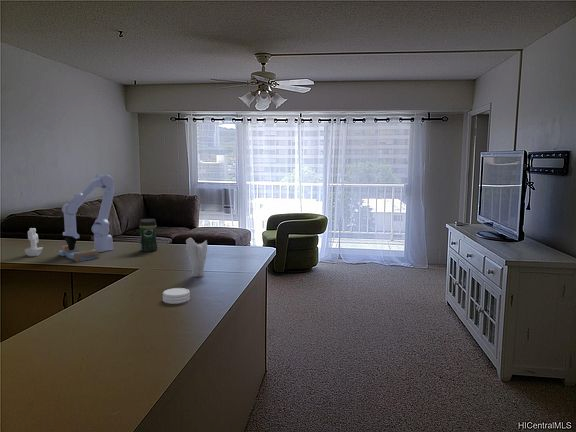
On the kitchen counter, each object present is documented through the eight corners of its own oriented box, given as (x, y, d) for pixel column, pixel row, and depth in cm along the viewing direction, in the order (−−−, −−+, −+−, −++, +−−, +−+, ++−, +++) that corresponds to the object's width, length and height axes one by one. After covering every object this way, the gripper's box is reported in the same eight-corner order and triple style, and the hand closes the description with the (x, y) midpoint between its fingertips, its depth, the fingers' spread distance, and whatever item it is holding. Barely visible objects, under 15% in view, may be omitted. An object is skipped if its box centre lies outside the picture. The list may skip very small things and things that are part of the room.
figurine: (44, 253, 245) (42, 226, 244) (38, 256, 236) (36, 229, 234) (30, 253, 244) (28, 227, 242) (23, 257, 235) (21, 229, 233)
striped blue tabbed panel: (85, 254, 244) (85, 247, 243) (99, 257, 235) (98, 250, 235) (63, 257, 234) (63, 250, 234) (77, 261, 226) (76, 254, 225)
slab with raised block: (74, 252, 248) (74, 243, 247) (79, 253, 245) (78, 244, 244) (58, 254, 241) (57, 245, 240) (62, 255, 238) (62, 246, 237)
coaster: (175, 306, 160) (175, 296, 159) (157, 301, 165) (156, 292, 165) (195, 299, 168) (195, 290, 168) (176, 294, 173) (176, 286, 173)
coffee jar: (156, 248, 262) (156, 217, 259) (157, 251, 254) (156, 219, 252) (139, 249, 258) (138, 218, 256) (140, 252, 251) (139, 220, 249)
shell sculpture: (210, 274, 203) (209, 236, 201) (201, 279, 196) (200, 239, 193) (194, 273, 206) (194, 235, 204) (185, 277, 198) (184, 238, 196)
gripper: (56, 225, 240) (57, 249, 242) (69, 227, 231) (71, 252, 233) (69, 223, 246) (70, 247, 247) (82, 226, 237) (83, 250, 239)
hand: (71, 249), depth 241 cm, fingers closed
